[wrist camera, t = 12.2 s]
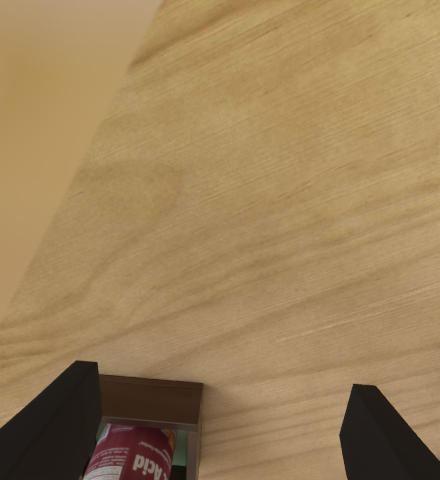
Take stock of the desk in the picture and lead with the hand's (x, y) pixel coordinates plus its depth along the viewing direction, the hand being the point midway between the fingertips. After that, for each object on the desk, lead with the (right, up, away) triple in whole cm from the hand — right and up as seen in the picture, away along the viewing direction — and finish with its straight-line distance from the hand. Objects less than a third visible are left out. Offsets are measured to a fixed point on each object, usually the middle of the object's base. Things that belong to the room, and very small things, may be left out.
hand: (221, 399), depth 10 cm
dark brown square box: (-5, -8, +14) cm, 17 cm away
